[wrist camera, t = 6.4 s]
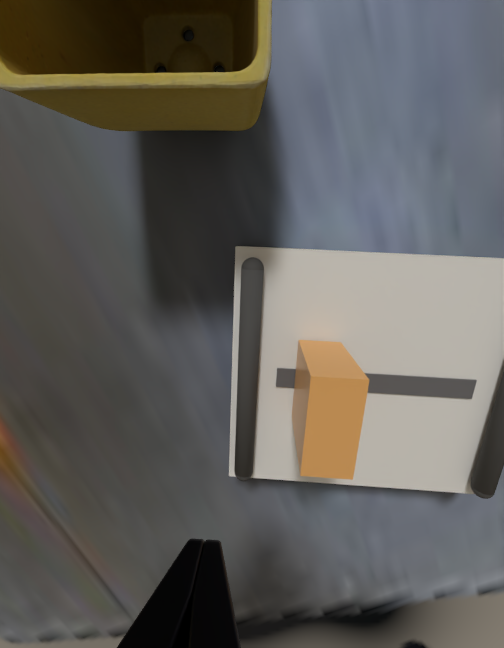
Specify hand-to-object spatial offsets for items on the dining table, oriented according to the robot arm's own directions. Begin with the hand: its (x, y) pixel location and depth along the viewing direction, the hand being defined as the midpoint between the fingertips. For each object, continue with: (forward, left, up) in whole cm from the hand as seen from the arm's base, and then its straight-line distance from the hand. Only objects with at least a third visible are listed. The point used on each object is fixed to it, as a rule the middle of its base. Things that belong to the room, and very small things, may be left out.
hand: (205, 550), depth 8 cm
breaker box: (-8, 0, -13) cm, 16 cm away
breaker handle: (-5, 0, -10) cm, 11 cm away
